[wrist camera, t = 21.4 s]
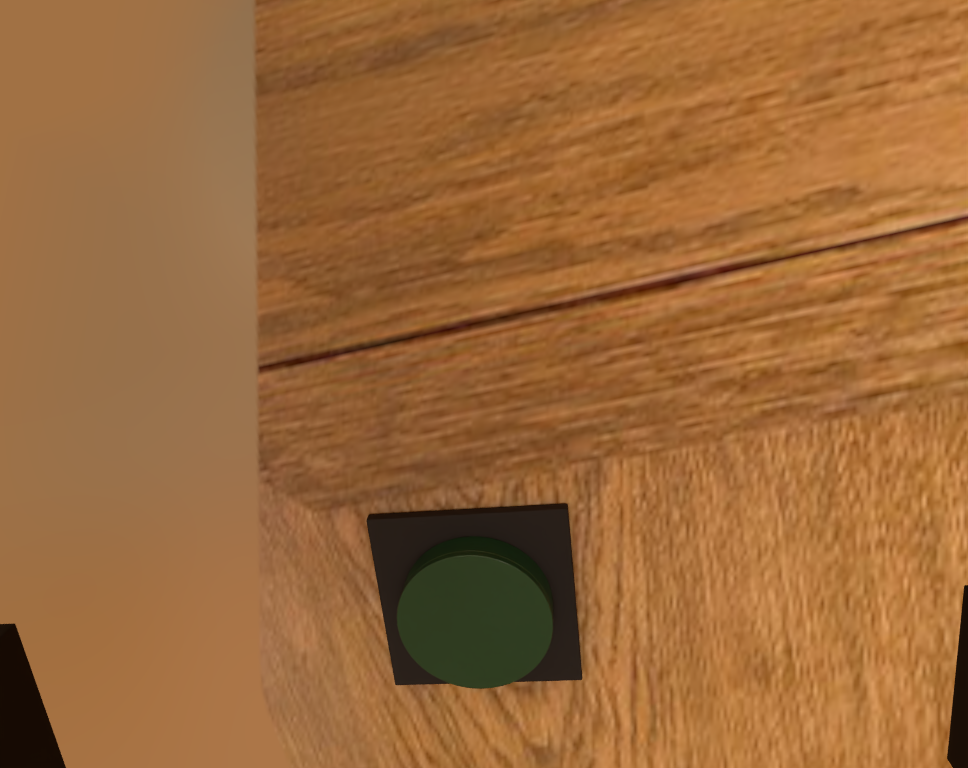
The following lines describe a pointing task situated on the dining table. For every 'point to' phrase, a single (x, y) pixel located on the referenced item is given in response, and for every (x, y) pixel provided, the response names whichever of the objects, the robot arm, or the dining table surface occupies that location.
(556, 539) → the coaster
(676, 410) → the dining table surface
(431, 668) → the jar lid
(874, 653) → the dining table surface
